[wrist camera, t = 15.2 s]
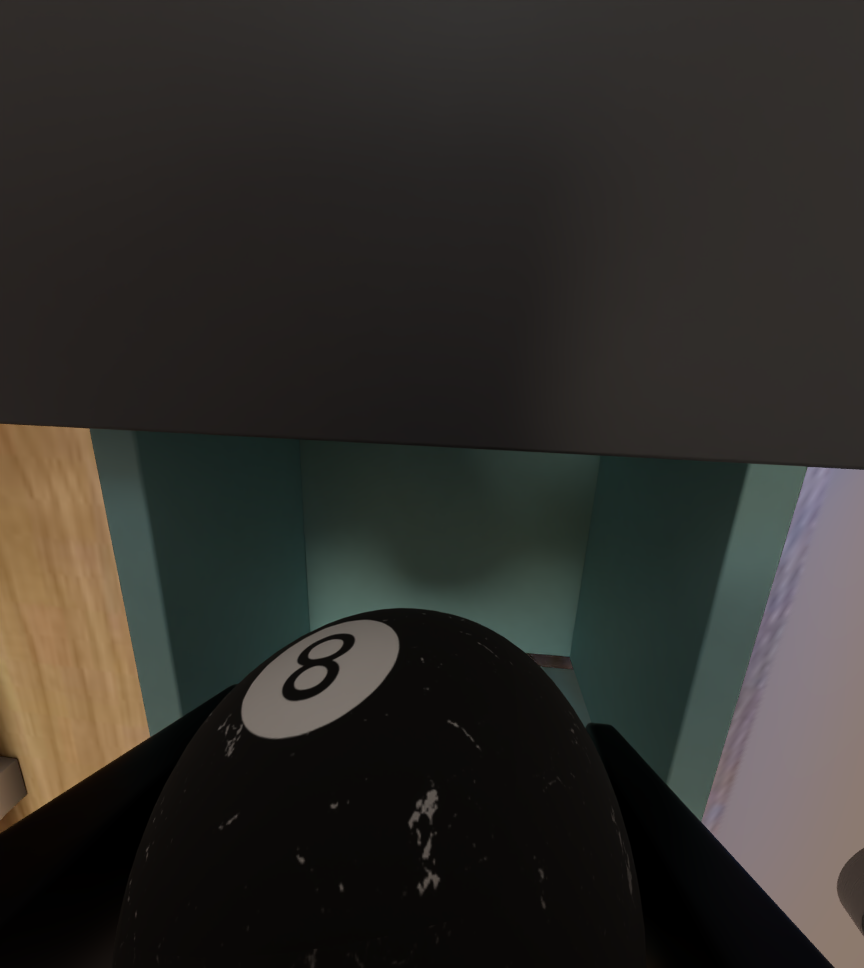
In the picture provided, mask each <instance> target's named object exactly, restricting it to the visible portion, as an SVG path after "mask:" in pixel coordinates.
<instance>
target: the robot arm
mask: <svg viewBox="0 0 864 968" xmlns="http://www.w3.org/2000/svg"><path fill="white" fill-rule="evenodd" d="M237 685H238V684H234V685H231V686H229V687H228V688H226V689H225V690H223V691H222V692H220V693H218V694H217V695H215V696H214V697H212V698H211V699H209V700H208V701H206V702H204V703H203V704H201V705H200V706H198V707H197V708H195V709H193V710H192V711H190V712H189V713H187V714H186V715H184V716H183V717H181V718H179V719H178V720H176V721H175V722H173V723H172V724H170V725H169V726H167V727H165V728H164V729H162V730H161V731H159V732H158V733H156V734H155V735H153V736H151V737H150V738H148V739H147V740H145V741H144V742H142V743H140V744H139V745H137V746H136V747H134V748H133V749H131V750H130V751H128V752H126V753H125V754H123V755H122V756H120V757H119V758H117V759H116V760H114V761H112V762H111V763H109V764H108V765H106V766H105V767H103V768H101V769H100V770H98V771H97V772H95V773H94V774H92V775H91V776H89V777H87V778H86V779H84V780H83V781H81V782H80V783H78V784H77V785H75V786H73V787H72V788H70V789H69V790H67V791H66V792H64V793H63V794H61V795H59V796H58V797H56V798H55V799H53V800H52V801H50V802H48V803H47V804H45V805H44V806H42V807H41V808H39V809H38V810H36V811H34V812H33V813H31V814H30V815H28V816H27V817H25V818H24V819H22V820H20V821H19V822H17V823H16V824H14V825H13V826H11V827H9V828H8V829H6V830H5V831H3V832H2V833H0V968H112V957H113V949H114V943H115V938H116V932H117V926H118V921H119V916H120V911H121V906H122V902H123V898H124V894H125V890H126V886H127V882H128V878H129V875H130V872H131V869H132V866H133V862H134V859H135V856H136V853H137V850H138V847H139V844H140V842H141V839H142V836H143V833H144V831H145V828H146V826H147V823H148V821H149V818H150V816H151V813H152V811H153V808H154V806H155V804H156V802H157V800H158V798H159V796H160V794H161V792H162V789H163V787H164V785H165V783H166V781H167V780H168V778H169V776H170V774H171V773H172V771H173V769H174V767H175V766H176V764H177V762H178V760H179V759H180V757H181V755H182V753H183V752H184V750H185V748H186V747H187V745H188V744H189V742H190V741H191V739H192V738H193V736H194V735H195V734H196V732H197V731H198V729H199V728H200V726H201V725H202V724H203V723H204V721H205V720H206V719H207V718H208V716H209V715H210V714H211V713H212V712H213V710H214V709H215V708H216V707H217V706H218V704H219V703H220V702H221V701H222V700H223V699H224V697H225V696H226V695H227V694H228V693H229V692H230V691H232V690H233V689H234V688H235V687H236V686H237ZM586 730H587V732H588V734H589V736H590V737H591V739H592V741H593V743H594V745H595V747H596V749H597V752H598V754H599V756H600V758H601V760H602V762H603V765H604V767H605V769H606V772H607V774H608V777H609V779H610V782H611V784H612V787H613V790H614V792H615V795H616V798H617V801H618V804H619V807H620V811H621V814H622V817H623V821H624V824H625V828H626V831H627V834H628V838H629V841H630V845H631V850H632V855H633V859H634V864H635V869H636V874H637V879H638V885H639V890H640V897H641V904H642V912H643V920H644V927H645V944H646V962H647V968H834V967H833V966H832V964H830V962H829V961H828V960H827V959H826V958H825V957H824V956H823V955H822V954H821V952H819V950H818V949H817V948H816V947H815V946H814V945H813V944H812V943H811V942H810V940H809V939H808V938H807V937H806V936H805V935H804V934H803V933H802V932H801V931H800V930H799V928H798V927H797V926H796V925H795V924H794V923H793V922H792V921H791V920H790V919H789V918H788V917H787V915H786V914H785V913H784V912H783V911H782V910H781V909H780V908H779V907H778V905H777V904H775V902H774V901H773V900H772V899H771V898H770V897H769V896H768V895H767V893H766V892H765V891H764V890H763V889H762V888H761V887H760V886H759V885H758V884H757V883H756V881H755V880H754V879H753V878H752V877H751V876H750V875H749V874H748V873H747V872H746V871H745V869H744V868H743V867H742V866H741V865H740V864H739V863H738V862H737V861H736V860H735V859H734V857H733V856H732V855H731V854H730V853H729V852H728V851H727V850H726V849H725V848H724V846H722V844H721V843H720V842H719V841H718V840H717V839H716V838H715V837H714V836H713V834H712V833H711V832H710V831H709V830H708V829H707V828H706V827H705V826H704V825H703V824H702V822H701V821H700V820H699V819H698V818H697V817H696V816H695V815H694V814H693V813H692V812H691V810H690V809H689V808H688V807H687V806H686V805H685V804H684V803H683V802H682V801H681V800H680V798H679V797H678V796H677V795H676V794H675V793H674V792H673V791H672V790H671V789H670V788H669V786H668V785H667V784H666V783H665V782H664V781H663V780H662V779H661V778H660V777H659V775H658V774H657V773H656V772H655V771H654V770H653V769H652V768H651V767H650V766H649V765H648V763H647V762H646V761H645V760H644V759H643V758H642V757H641V756H640V755H639V754H638V753H637V751H636V750H635V749H634V748H633V747H632V746H631V745H630V744H629V743H628V742H627V741H626V739H625V738H624V737H623V736H622V735H621V734H620V733H619V732H618V731H617V730H616V729H615V728H614V727H613V726H612V725H609V724H602V723H593V722H591V723H588V724H587V726H586Z"/></svg>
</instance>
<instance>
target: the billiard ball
mask: <svg viewBox="0 0 864 968" xmlns="http://www.w3.org/2000/svg"><path fill="white" fill-rule="evenodd" d="M112 968H647V962H646V944H645V927H644V920H643V912H642V904H641V897H640V890H639V885H638V879H637V874H636V869H635V864H634V859H633V855H632V850H631V845H630V841H629V838H628V834H627V831H626V828H625V824H624V821H623V817H622V814H621V811H620V807H619V804H618V801H617V798H616V795H615V792H614V790H613V787H612V784H611V782H610V779H609V777H608V774H607V772H606V769H605V767H604V765H603V762H602V760H601V758H600V756H599V754H598V752H597V749H596V747H595V745H594V743H593V741H592V739H591V737H590V736H589V734H588V732H587V730H586V728H585V727H584V725H583V723H582V721H581V720H580V718H579V717H578V715H577V713H576V712H575V710H574V708H573V707H572V706H571V704H570V703H569V701H568V700H567V699H566V697H565V696H564V694H563V693H562V692H561V690H560V689H559V688H558V687H557V685H556V684H555V683H554V682H553V680H552V679H551V678H550V677H549V676H548V675H547V674H546V673H545V672H544V670H543V669H542V668H541V667H540V666H539V665H538V664H537V663H536V662H535V661H534V660H533V659H531V658H530V657H529V656H528V655H527V654H526V653H525V652H524V651H522V650H521V649H520V648H518V647H517V646H516V645H514V644H513V643H512V642H510V641H509V640H508V639H506V638H505V637H503V636H501V635H500V634H498V633H496V632H495V631H493V630H491V629H489V628H487V627H485V626H483V625H481V624H479V623H477V622H474V621H471V620H469V619H466V618H463V617H460V616H456V615H453V614H449V613H444V612H439V611H434V610H426V609H417V608H392V609H381V610H374V611H368V612H364V613H359V614H356V615H352V616H348V617H345V618H342V619H339V620H336V621H334V622H331V623H328V624H326V625H324V626H322V627H320V628H318V629H315V630H313V631H311V632H309V633H307V634H305V635H303V636H301V637H300V638H298V639H296V640H295V641H293V642H291V643H290V644H288V645H286V646H285V647H283V648H282V649H280V650H279V651H277V652H276V653H274V654H273V655H272V656H270V657H269V658H268V659H266V660H265V661H264V662H263V663H261V664H260V665H259V666H258V667H256V668H255V669H254V670H253V671H252V672H250V673H249V674H248V675H247V676H246V677H245V678H244V679H243V680H242V681H241V682H240V683H239V684H238V685H237V686H236V687H235V688H234V689H233V690H232V691H230V692H229V693H228V694H227V695H226V696H225V697H224V699H223V700H222V701H221V702H220V703H219V704H218V706H217V707H216V708H215V709H214V710H213V712H212V713H211V714H210V715H209V716H208V718H207V719H206V720H205V721H204V723H203V724H202V725H201V726H200V728H199V729H198V731H197V732H196V734H195V735H194V736H193V738H192V739H191V741H190V742H189V744H188V745H187V747H186V748H185V750H184V752H183V753H182V755H181V757H180V759H179V760H178V762H177V764H176V766H175V767H174V769H173V771H172V773H171V774H170V776H169V778H168V780H167V781H166V783H165V785H164V787H163V789H162V792H161V794H160V796H159V798H158V800H157V802H156V804H155V806H154V808H153V811H152V813H151V816H150V818H149V821H148V823H147V826H146V828H145V831H144V833H143V836H142V839H141V842H140V844H139V847H138V850H137V853H136V856H135V859H134V862H133V866H132V869H131V872H130V875H129V878H128V882H127V886H126V890H125V894H124V898H123V902H122V906H121V911H120V916H119V921H118V926H117V932H116V938H115V943H114V949H113V957H112Z"/></svg>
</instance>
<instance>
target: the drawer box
mask: <svg viewBox="0 0 864 968" xmlns="http://www.w3.org/2000/svg"><path fill="white" fill-rule="evenodd" d="M0 424H17V425H36V426H55V427H74V428H92V429H111V430H130V431H149V432H167V433H186V434H205V435H223V436H242V437H261V438H280V439H298V440H317V441H336V442H354V443H373V444H392V445H411V446H429V447H448V448H467V449H486V450H504V451H523V452H542V453H560V454H579V455H598V456H617V457H635V458H654V459H673V460H691V461H710V462H729V463H748V464H766V465H785V466H804V467H823V468H841V469H860V470H864V0H0Z"/></svg>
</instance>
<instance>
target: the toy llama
mask: <svg viewBox="0 0 864 968" xmlns="http://www.w3.org/2000/svg"><path fill="white" fill-rule="evenodd" d="M26 795H27V793H26V789H25V786H24V782H23V779H22V775H21V772H20V768H19V765H18V761H17V759H14V758H8V757H1V756H0V820H1V819H2V818H3V817H4V816H5V815H6V814H7V813H8V812H9V811H10V810H11V809H12V808H13V807H14V806H15V805H16V804H17V803H18V802H19V801H20V800H21V799H22V798H24V797H25V796H26Z"/></svg>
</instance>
